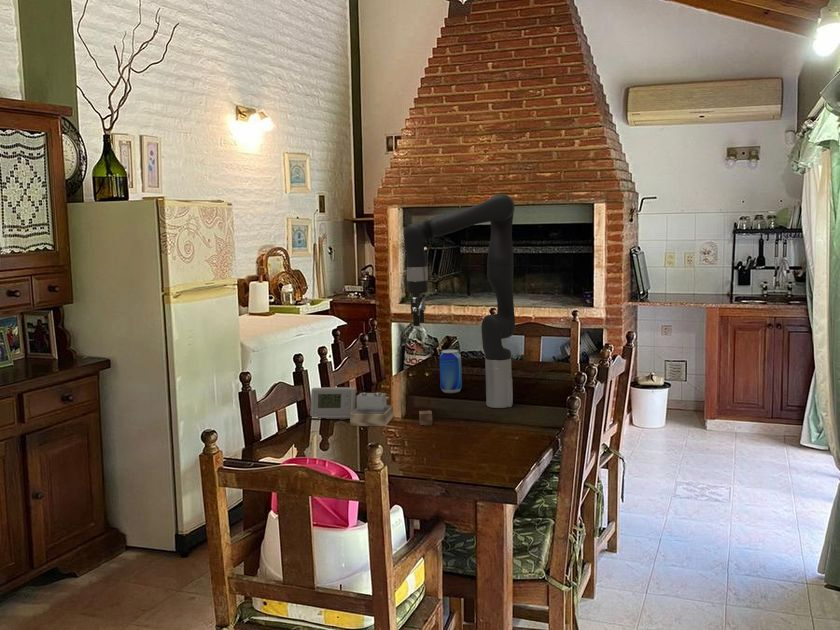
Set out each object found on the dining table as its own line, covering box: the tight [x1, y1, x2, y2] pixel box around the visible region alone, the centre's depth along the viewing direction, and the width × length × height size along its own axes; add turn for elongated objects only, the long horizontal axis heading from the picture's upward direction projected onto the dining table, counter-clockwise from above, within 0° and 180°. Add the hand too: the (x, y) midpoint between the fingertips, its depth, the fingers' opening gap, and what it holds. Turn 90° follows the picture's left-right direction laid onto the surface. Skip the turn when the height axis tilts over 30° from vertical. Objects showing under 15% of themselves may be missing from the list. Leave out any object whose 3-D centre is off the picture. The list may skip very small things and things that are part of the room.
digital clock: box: [309, 386, 357, 421], centre depth 271 cm, size 16×9×11 cm, turn 70°
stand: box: [349, 404, 394, 427], centre depth 265 cm, size 12×12×4 cm
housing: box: [356, 391, 387, 411], centre depth 264 cm, size 5×9×6 cm, turn 76°
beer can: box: [439, 349, 463, 394], centre depth 305 cm, size 8×8×16 cm
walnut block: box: [418, 410, 433, 426], centre depth 259 cm, size 4×4×4 cm
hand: (419, 324), depth 280 cm, fingers open, 8 cm apart
